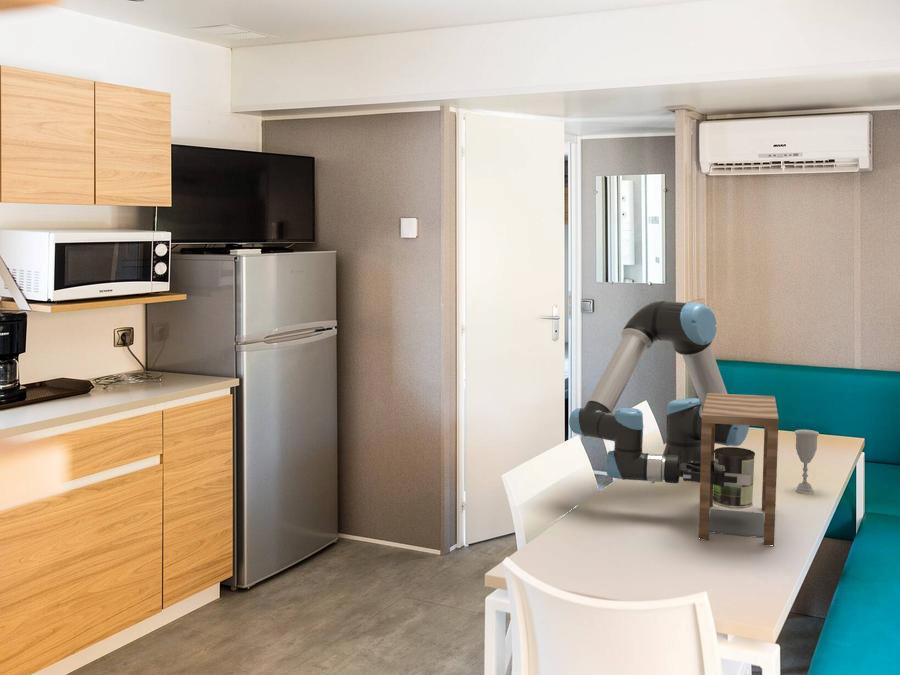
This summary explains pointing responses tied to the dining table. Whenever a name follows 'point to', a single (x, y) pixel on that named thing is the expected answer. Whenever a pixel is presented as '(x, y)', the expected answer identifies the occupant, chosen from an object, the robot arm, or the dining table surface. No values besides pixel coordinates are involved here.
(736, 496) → the coffee can
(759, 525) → the mat
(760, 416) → the wooden stool
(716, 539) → the dining table surface
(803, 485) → the chalice
